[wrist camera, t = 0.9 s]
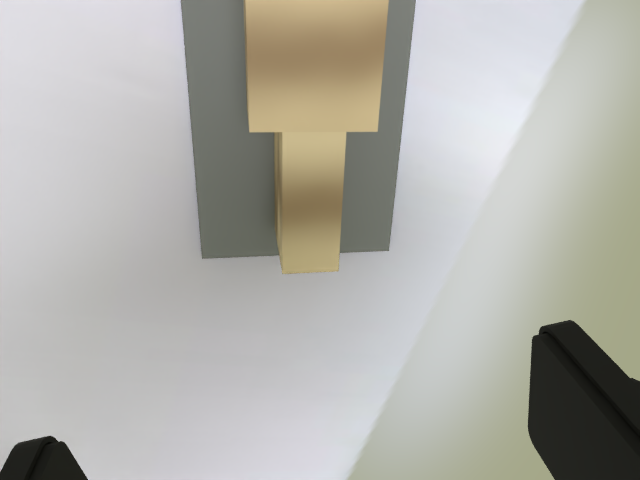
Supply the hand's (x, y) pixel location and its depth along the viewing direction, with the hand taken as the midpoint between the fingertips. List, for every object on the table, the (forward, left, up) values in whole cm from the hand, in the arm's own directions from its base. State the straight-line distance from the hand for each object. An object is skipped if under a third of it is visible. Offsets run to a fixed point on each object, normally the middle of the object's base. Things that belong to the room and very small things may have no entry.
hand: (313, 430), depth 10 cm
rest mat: (+2, -2, -23) cm, 24 cm away
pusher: (+2, -2, -23) cm, 23 cm away
